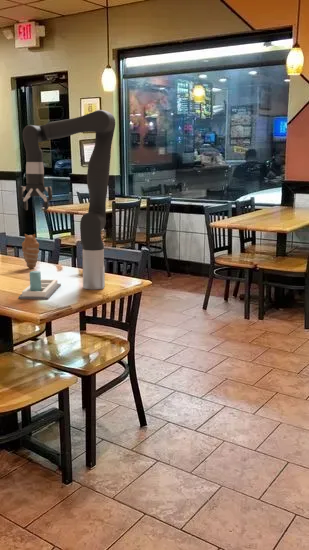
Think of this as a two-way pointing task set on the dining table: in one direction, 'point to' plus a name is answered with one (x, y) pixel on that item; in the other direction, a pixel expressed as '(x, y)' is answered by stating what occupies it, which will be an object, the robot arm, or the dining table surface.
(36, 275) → the teal peg
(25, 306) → the dining table surface
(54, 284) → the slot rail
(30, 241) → the cat ice cream
